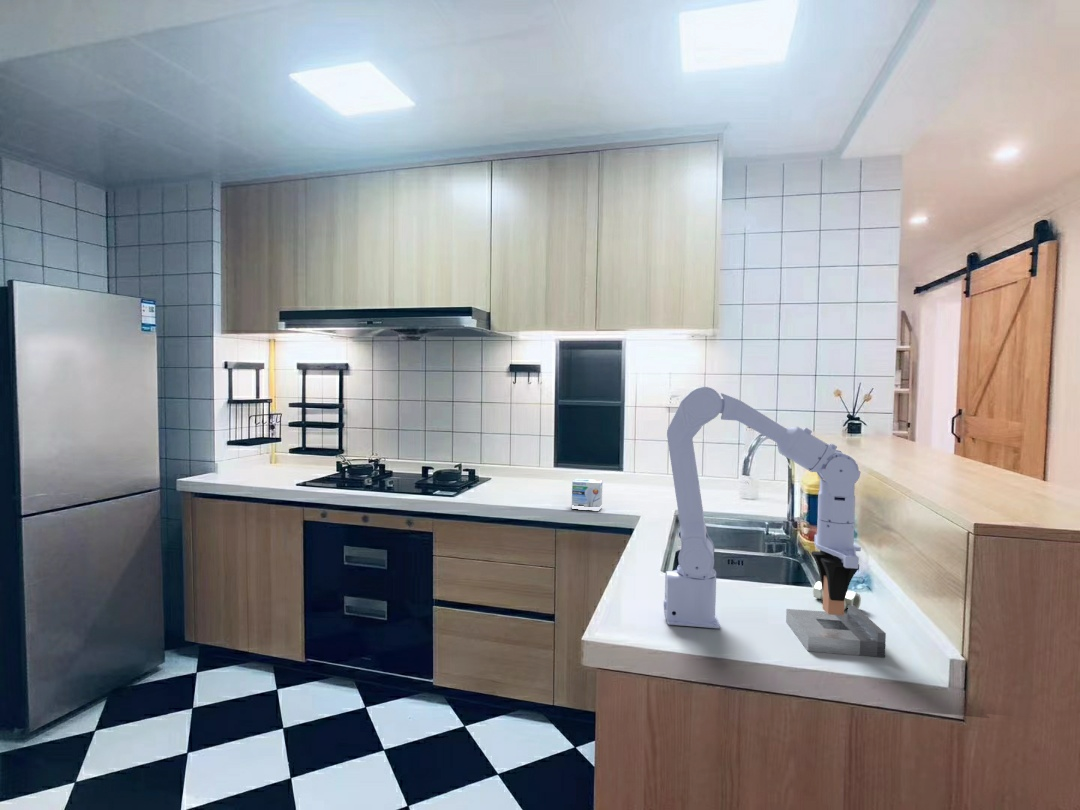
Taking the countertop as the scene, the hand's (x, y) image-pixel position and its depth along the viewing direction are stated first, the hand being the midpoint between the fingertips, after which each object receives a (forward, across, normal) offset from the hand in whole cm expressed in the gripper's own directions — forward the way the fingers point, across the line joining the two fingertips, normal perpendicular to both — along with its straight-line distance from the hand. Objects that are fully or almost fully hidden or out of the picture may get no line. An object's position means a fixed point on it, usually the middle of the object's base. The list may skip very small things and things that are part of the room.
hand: (833, 596), depth 97 cm
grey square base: (+7, 0, 0) cm, 7 cm away
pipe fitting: (+8, +16, -6) cm, 19 cm away
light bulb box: (+8, +100, +49) cm, 112 cm away
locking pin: (+3, 0, 0) cm, 3 cm away
